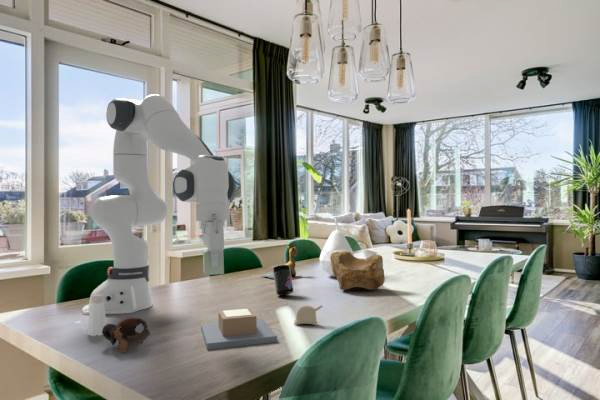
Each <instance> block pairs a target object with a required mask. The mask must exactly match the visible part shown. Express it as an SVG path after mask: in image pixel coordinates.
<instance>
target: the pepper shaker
mask: <svg viewBox="0 0 600 400" xmlns="http://www.w3.org/2000/svg"><path fill="white" fill-rule="evenodd" d="M90 296H91V295H90ZM91 297H92V304H90V311H89V315H88V323H87V332H86V333H87V334H86V335H87V336H89V335H90V337H95V336H96V335H98V336H103V335H102V330H103V328H104V326H105V325H107V318H106V314H105V307H104V303H102V294H94V295H92V296H91Z"/></svg>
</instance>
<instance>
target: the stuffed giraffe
mask: <svg viewBox="0 0 600 400" xmlns="http://www.w3.org/2000/svg"><path fill="white" fill-rule="evenodd" d="M286 249H287V250H289V251H288V253H289V255H288V257H289V261H288V262H287V263H285V265H289V266H290V272H291V278H292V280H295V279H302V276H304V275H299V276H297V272H296V261H295V257H297V256H298V254H299V252H298V249H297V248H296V247H295V246H294V245H291V244H288V246H287V248H286ZM263 277H267V278H270V279H272V280H274V273H270V274H269V273H268V274H264V275H263Z"/></svg>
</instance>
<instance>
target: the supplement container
mask: <svg viewBox="0 0 600 400" xmlns="http://www.w3.org/2000/svg"><path fill="white" fill-rule="evenodd" d="M272 274H274V279H273V280H274V285H275V292H276V295H277V296H280V297H281V296H288V295H291V294H293V293H294V287H293V285H294V284H293V279H292V278H291V272H290V266H289V265H286V264H283V265H282V264H281V265H278V266H274V267H272Z"/></svg>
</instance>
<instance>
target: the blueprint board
mask: <svg viewBox="0 0 600 400" xmlns="http://www.w3.org/2000/svg"><path fill="white" fill-rule="evenodd" d="M200 330H201V333H202V337H203V341H204V343H205V347H206V350H214V349H215V350H216V349H225V348H233V347H242V346H250V345H252V346H253V345H261V344H270V343H277V342H278V335H277V334H276V333H275V332H274V331H273V330H272V328H271V327H270V326H269V325H268V324H267V322H266V321H265V320H264V318H262V317H261V318H257V315H256V313H255V312H254V311H253V310H252V308H250V307H248V308H247V307H246V308H239V309H238V308H236V309H226V310H223V309H222V310H218V321H217V322H210V323H208V322H207V323H201V324H200Z"/></svg>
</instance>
